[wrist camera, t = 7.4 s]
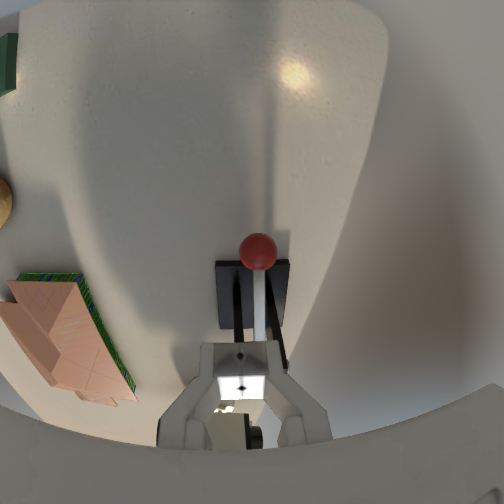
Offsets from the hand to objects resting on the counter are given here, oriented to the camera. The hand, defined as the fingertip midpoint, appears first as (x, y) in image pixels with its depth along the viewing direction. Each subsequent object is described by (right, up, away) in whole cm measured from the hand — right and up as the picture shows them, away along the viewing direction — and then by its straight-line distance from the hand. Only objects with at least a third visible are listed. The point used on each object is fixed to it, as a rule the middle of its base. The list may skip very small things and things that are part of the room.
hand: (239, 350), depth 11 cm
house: (-34, -13, +31) cm, 47 cm away
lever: (+1, -2, +18) cm, 18 cm away
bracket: (0, -2, +27) cm, 27 cm away
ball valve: (-8, -24, +40) cm, 47 cm away
